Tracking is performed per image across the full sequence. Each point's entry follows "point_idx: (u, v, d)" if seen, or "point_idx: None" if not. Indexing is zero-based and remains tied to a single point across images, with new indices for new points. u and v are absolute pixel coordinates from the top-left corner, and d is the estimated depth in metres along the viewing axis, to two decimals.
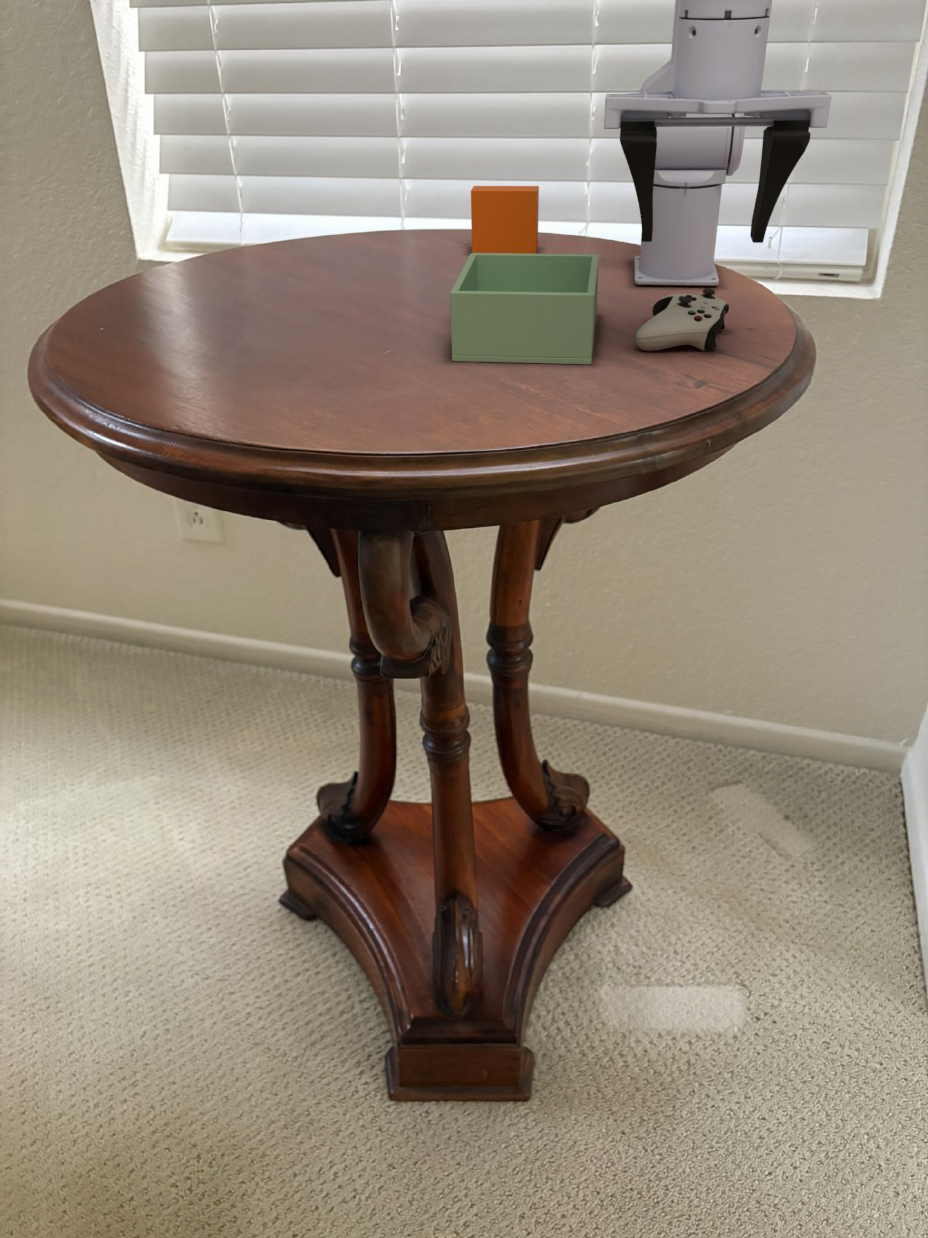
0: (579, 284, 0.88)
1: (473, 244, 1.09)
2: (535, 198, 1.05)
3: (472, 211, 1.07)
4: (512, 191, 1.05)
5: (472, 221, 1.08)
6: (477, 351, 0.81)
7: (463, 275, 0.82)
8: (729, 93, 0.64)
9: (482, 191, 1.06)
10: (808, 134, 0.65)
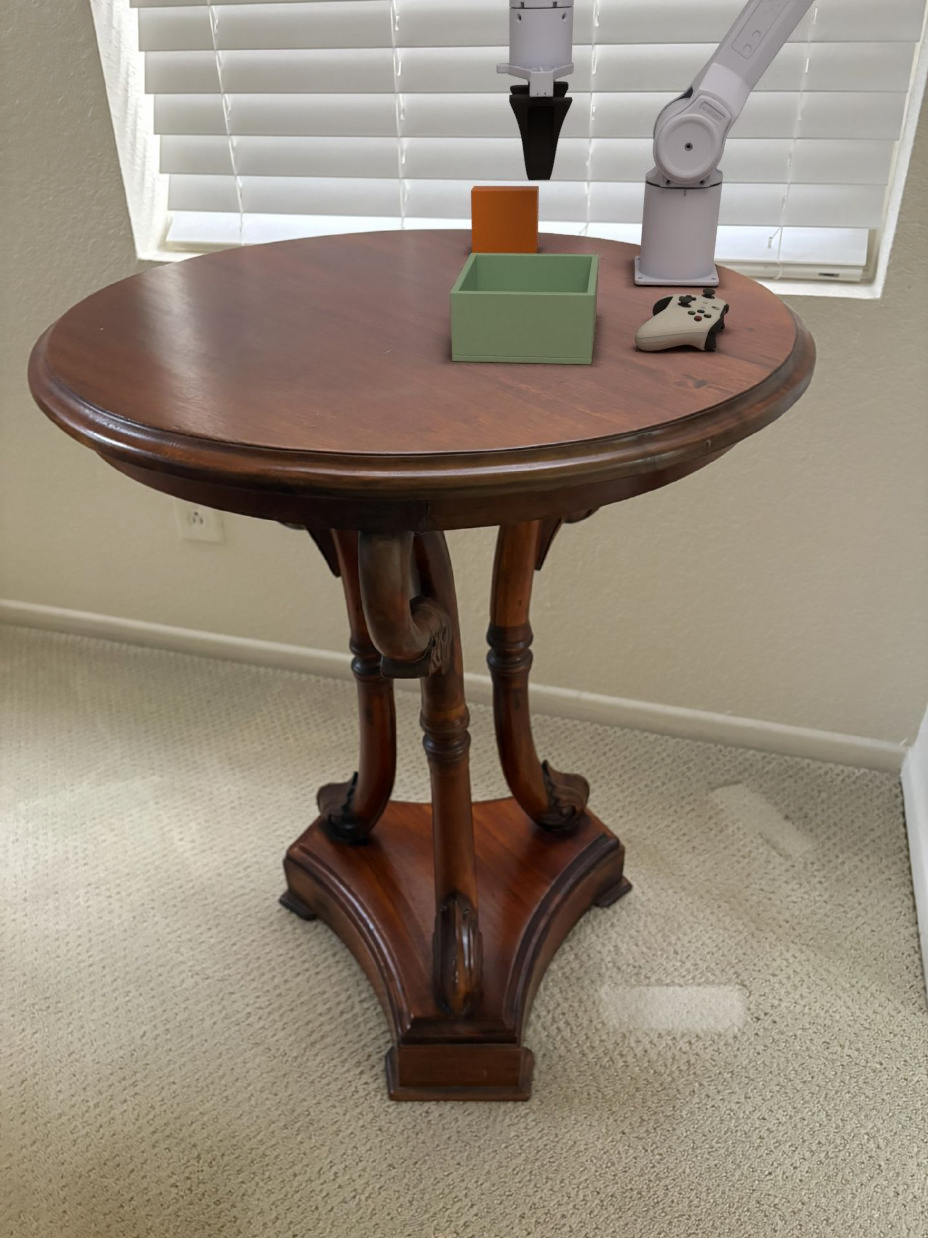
0: (579, 284, 0.88)
1: (473, 244, 1.09)
2: (535, 198, 1.05)
3: (472, 211, 1.07)
4: (512, 191, 1.05)
5: (472, 221, 1.08)
6: (477, 351, 0.81)
7: (463, 275, 0.82)
8: (509, 60, 0.91)
9: (482, 191, 1.06)
10: (515, 97, 0.88)
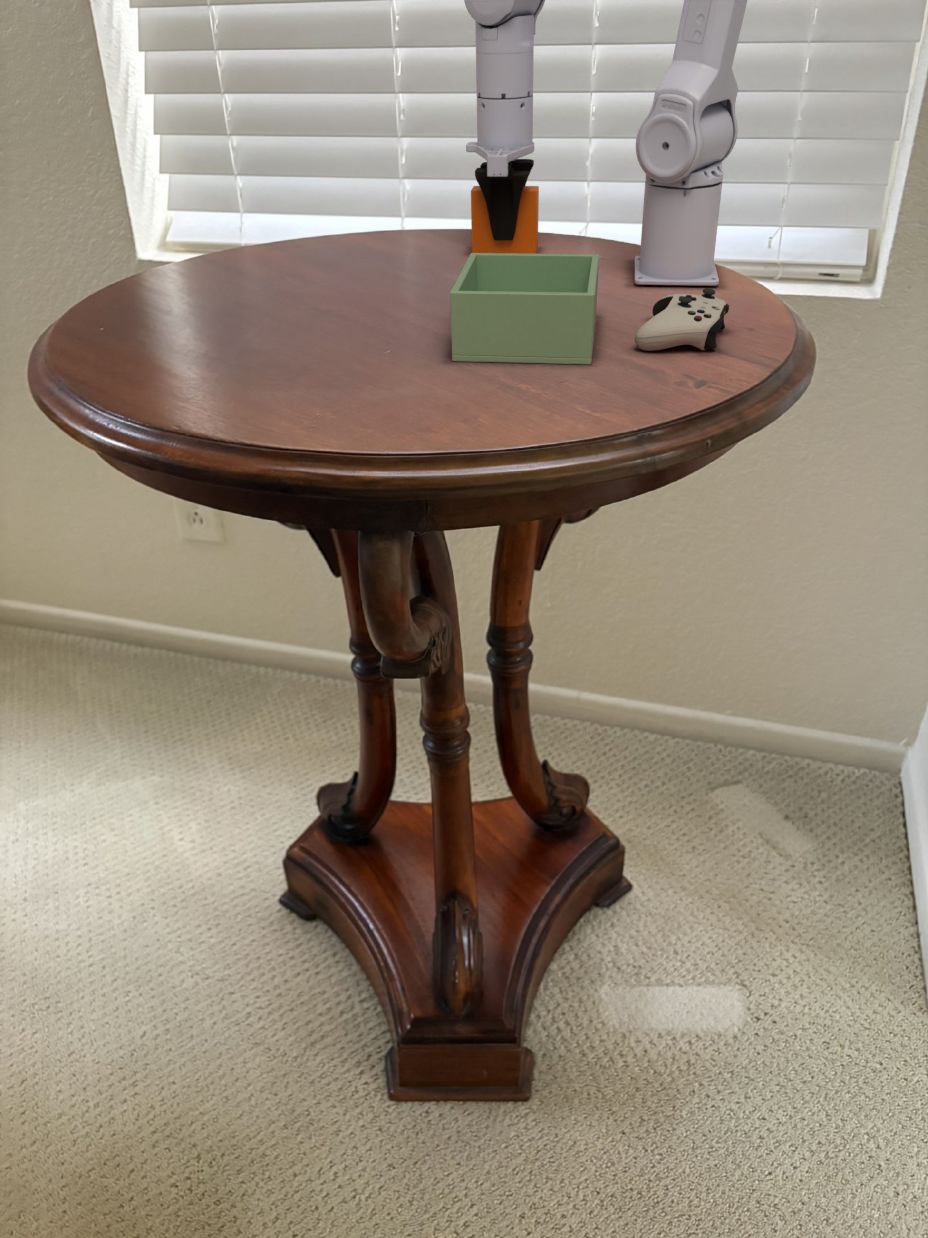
0: (579, 284, 0.88)
1: (473, 244, 1.09)
2: (535, 198, 1.05)
3: (472, 211, 1.07)
4: None
5: (472, 221, 1.08)
6: (477, 351, 0.81)
7: (463, 275, 0.82)
8: (477, 140, 1.04)
9: None
10: (478, 172, 1.03)
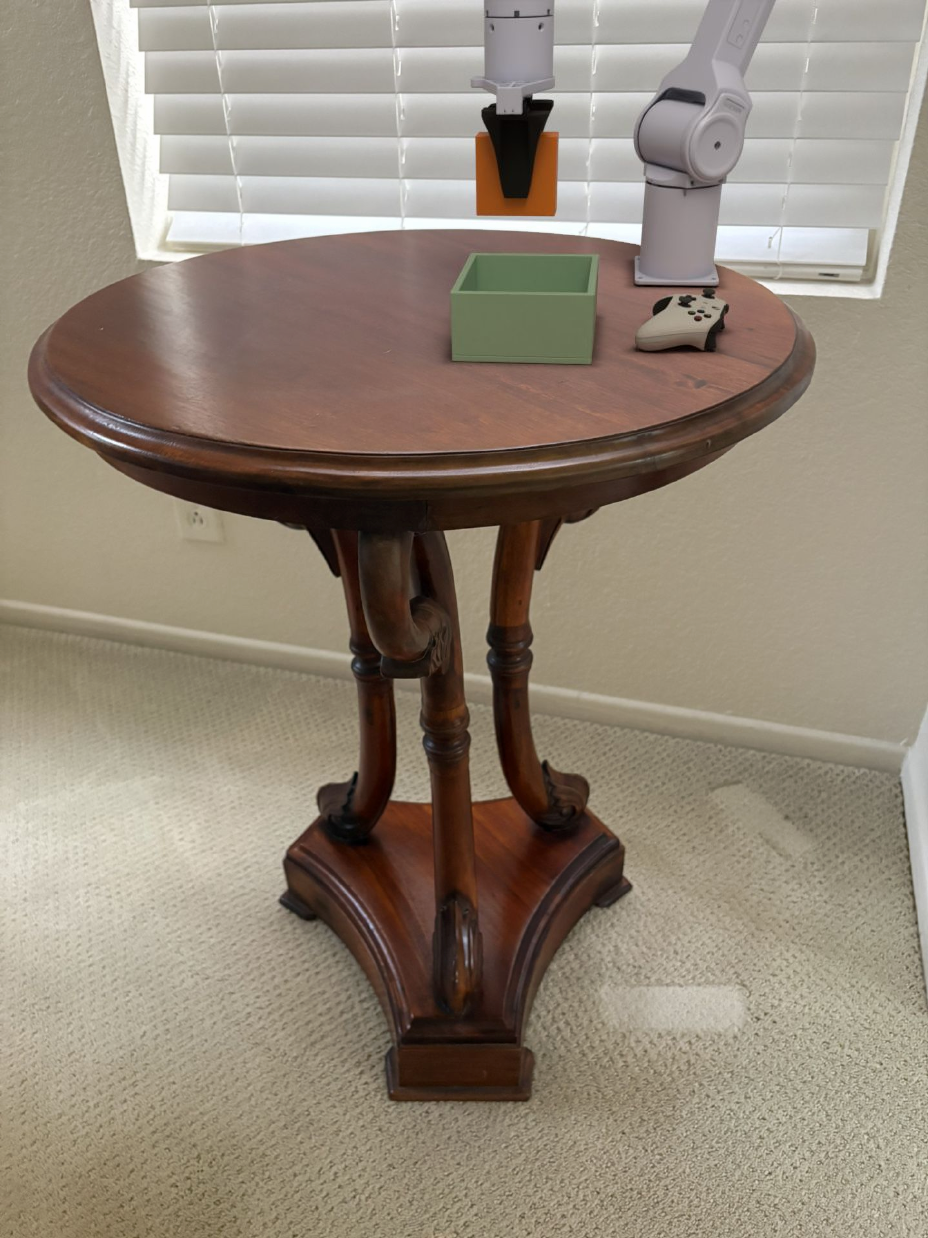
0: (579, 284, 0.88)
1: (478, 204, 0.89)
2: (554, 146, 0.86)
3: (477, 162, 0.87)
4: None
5: (477, 175, 0.88)
6: (477, 351, 0.81)
7: (463, 275, 0.82)
8: None
9: (489, 137, 0.86)
10: (486, 111, 0.83)
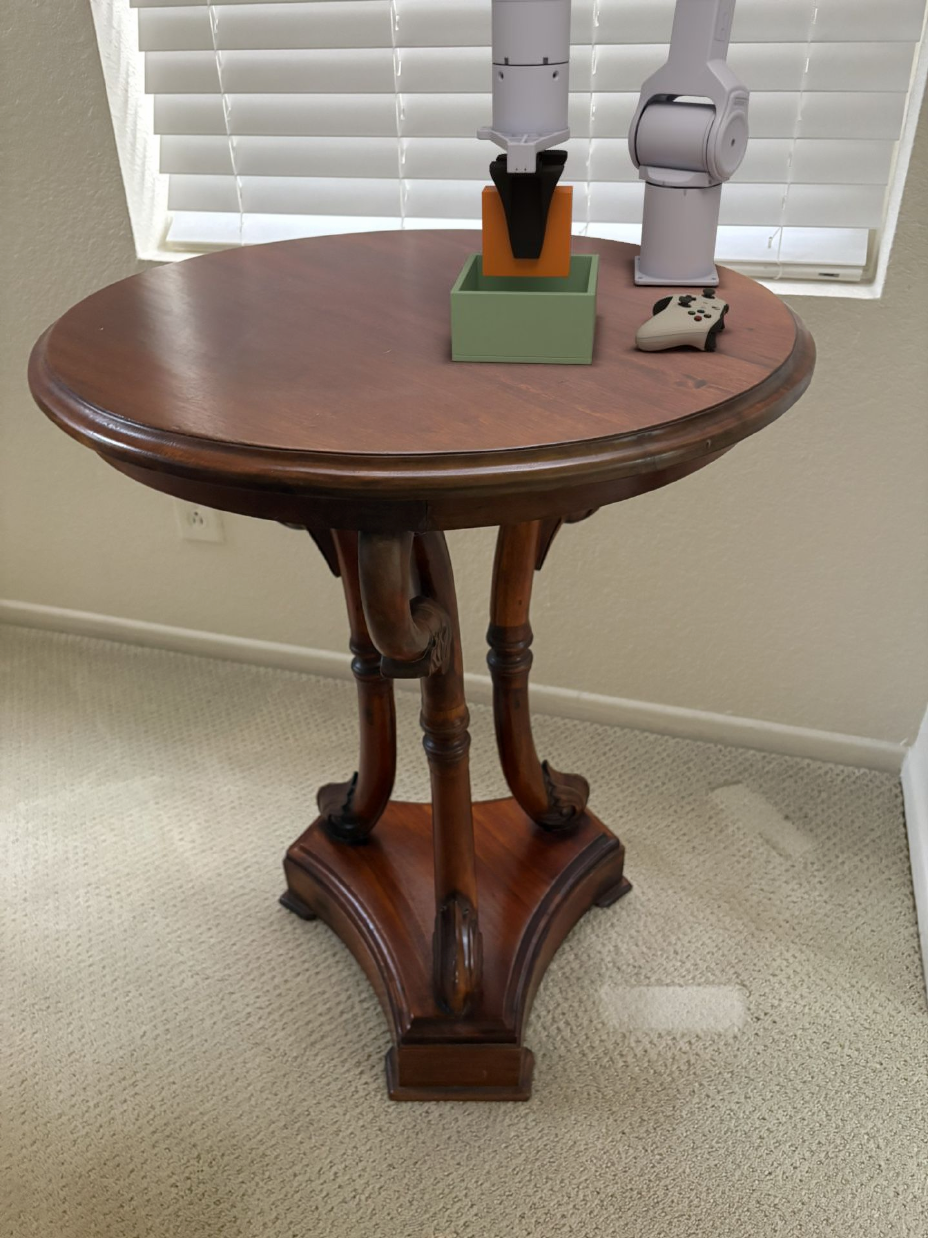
0: (579, 284, 0.88)
1: (484, 264, 0.81)
2: (569, 202, 0.78)
3: (483, 220, 0.80)
4: None
5: (483, 233, 0.80)
6: (477, 351, 0.81)
7: (463, 275, 0.82)
8: (492, 124, 0.76)
9: (497, 193, 0.78)
10: (494, 166, 0.75)
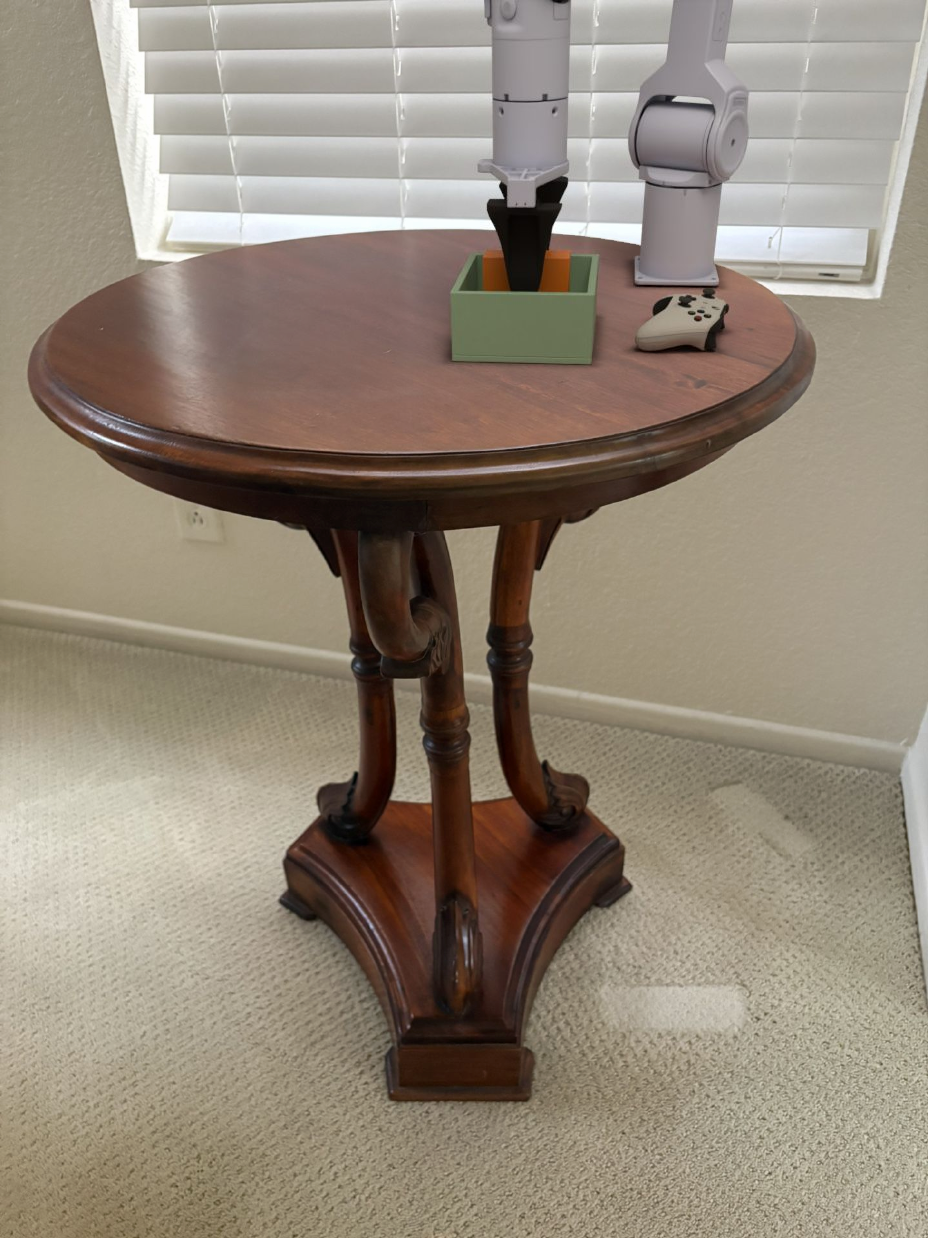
0: (579, 284, 0.88)
1: None
2: (567, 268, 0.81)
3: (484, 283, 0.82)
4: None
5: None
6: (477, 351, 0.81)
7: (463, 275, 0.82)
8: None
9: (497, 258, 0.81)
10: (492, 205, 0.75)
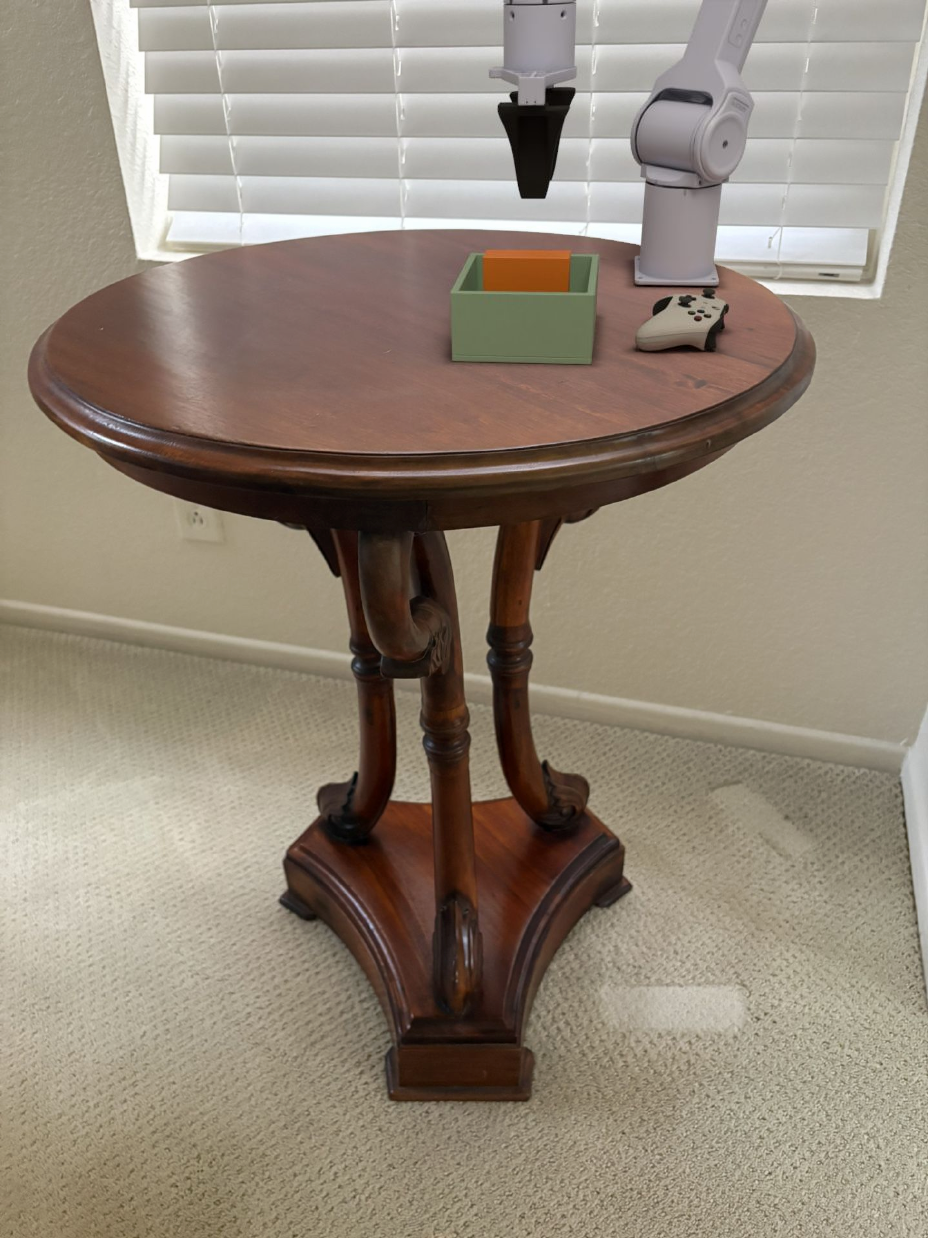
0: (579, 284, 0.88)
1: None
2: (567, 268, 0.81)
3: (484, 283, 0.82)
4: (537, 259, 0.81)
5: None
6: (477, 351, 0.81)
7: (463, 275, 0.82)
8: None
9: (497, 258, 0.81)
10: (503, 106, 0.78)
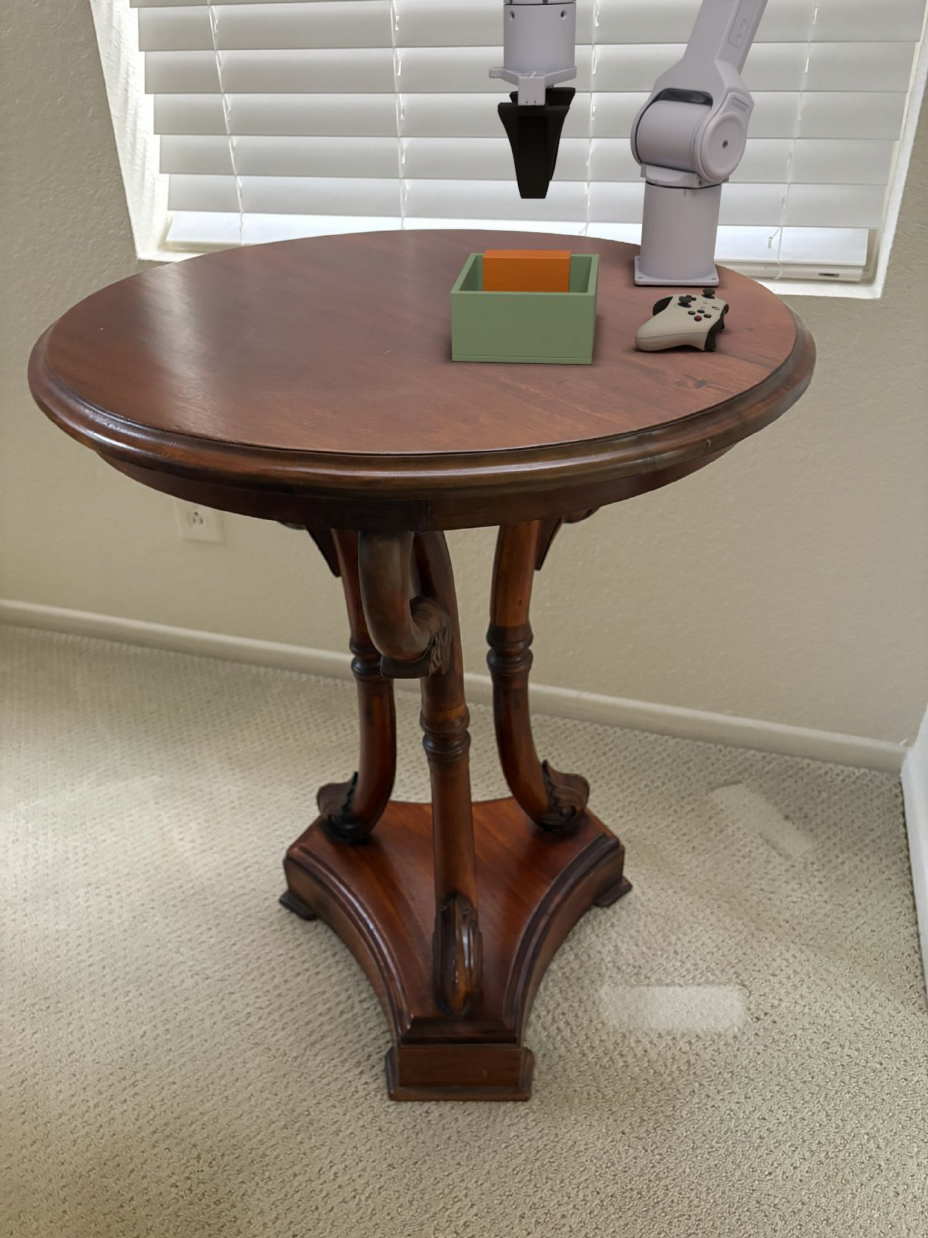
0: (579, 284, 0.88)
1: None
2: (567, 268, 0.81)
3: (484, 283, 0.82)
4: (537, 259, 0.81)
5: None
6: (477, 351, 0.81)
7: (463, 275, 0.82)
8: None
9: (497, 258, 0.81)
10: (503, 106, 0.78)
